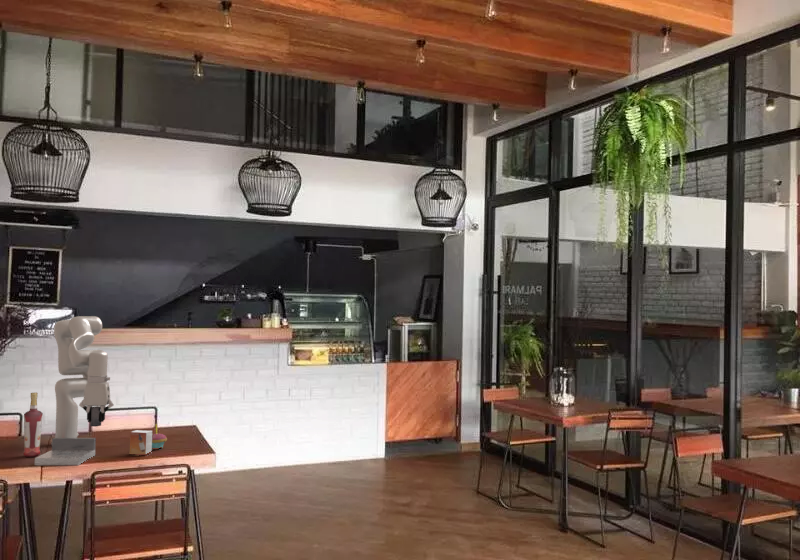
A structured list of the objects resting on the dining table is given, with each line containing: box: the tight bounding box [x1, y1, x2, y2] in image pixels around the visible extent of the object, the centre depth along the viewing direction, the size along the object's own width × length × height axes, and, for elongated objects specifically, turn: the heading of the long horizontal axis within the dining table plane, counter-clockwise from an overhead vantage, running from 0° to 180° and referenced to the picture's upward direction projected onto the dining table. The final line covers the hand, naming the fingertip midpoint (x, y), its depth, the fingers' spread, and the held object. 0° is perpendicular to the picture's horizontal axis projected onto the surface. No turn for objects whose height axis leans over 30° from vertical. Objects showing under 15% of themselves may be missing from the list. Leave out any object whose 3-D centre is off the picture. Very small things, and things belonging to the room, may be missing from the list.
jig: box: [34, 437, 97, 466], centre depth 291 cm, size 18×18×8 cm
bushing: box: [89, 406, 102, 427], centre depth 293 cm, size 4×4×8 cm
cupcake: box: [152, 423, 168, 448], centre depth 317 cm, size 9×8×12 cm
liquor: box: [22, 392, 44, 458], centre depth 298 cm, size 7×7×28 cm
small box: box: [128, 429, 153, 454], centre depth 305 cm, size 8×6×10 cm
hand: (95, 421), depth 293 cm, fingers closed on bushing, 4 cm apart
